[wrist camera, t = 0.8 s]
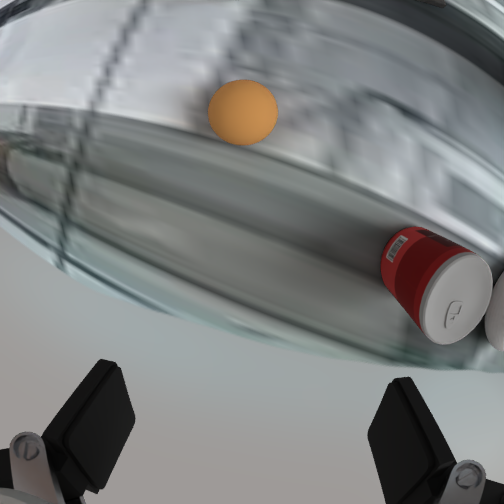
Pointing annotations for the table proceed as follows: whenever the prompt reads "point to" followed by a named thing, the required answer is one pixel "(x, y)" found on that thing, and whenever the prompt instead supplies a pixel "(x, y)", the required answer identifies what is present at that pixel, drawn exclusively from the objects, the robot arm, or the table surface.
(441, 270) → the canned food
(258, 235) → the table surface
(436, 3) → the faucet
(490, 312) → the decorative figurine
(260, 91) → the ball
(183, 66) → the table surface
